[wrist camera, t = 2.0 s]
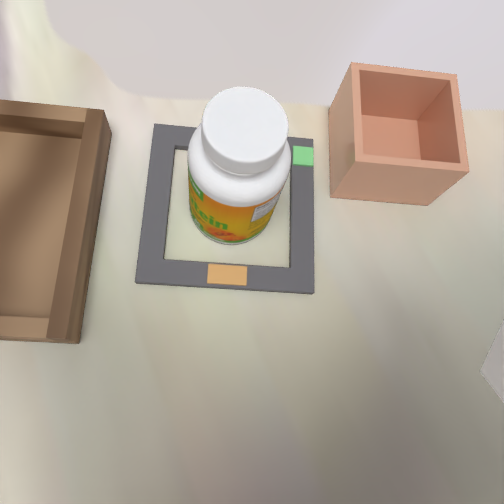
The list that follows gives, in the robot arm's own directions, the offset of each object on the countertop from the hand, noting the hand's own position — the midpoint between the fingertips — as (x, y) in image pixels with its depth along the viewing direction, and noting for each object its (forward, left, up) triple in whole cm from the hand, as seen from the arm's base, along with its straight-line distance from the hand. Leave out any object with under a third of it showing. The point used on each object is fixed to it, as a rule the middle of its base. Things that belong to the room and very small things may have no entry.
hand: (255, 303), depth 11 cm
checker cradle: (-2, -9, -16) cm, 19 cm away
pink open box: (-13, -12, -16) cm, 24 cm away
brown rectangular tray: (+11, -9, -16) cm, 22 cm away
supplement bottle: (-2, -9, -16) cm, 19 cm away
